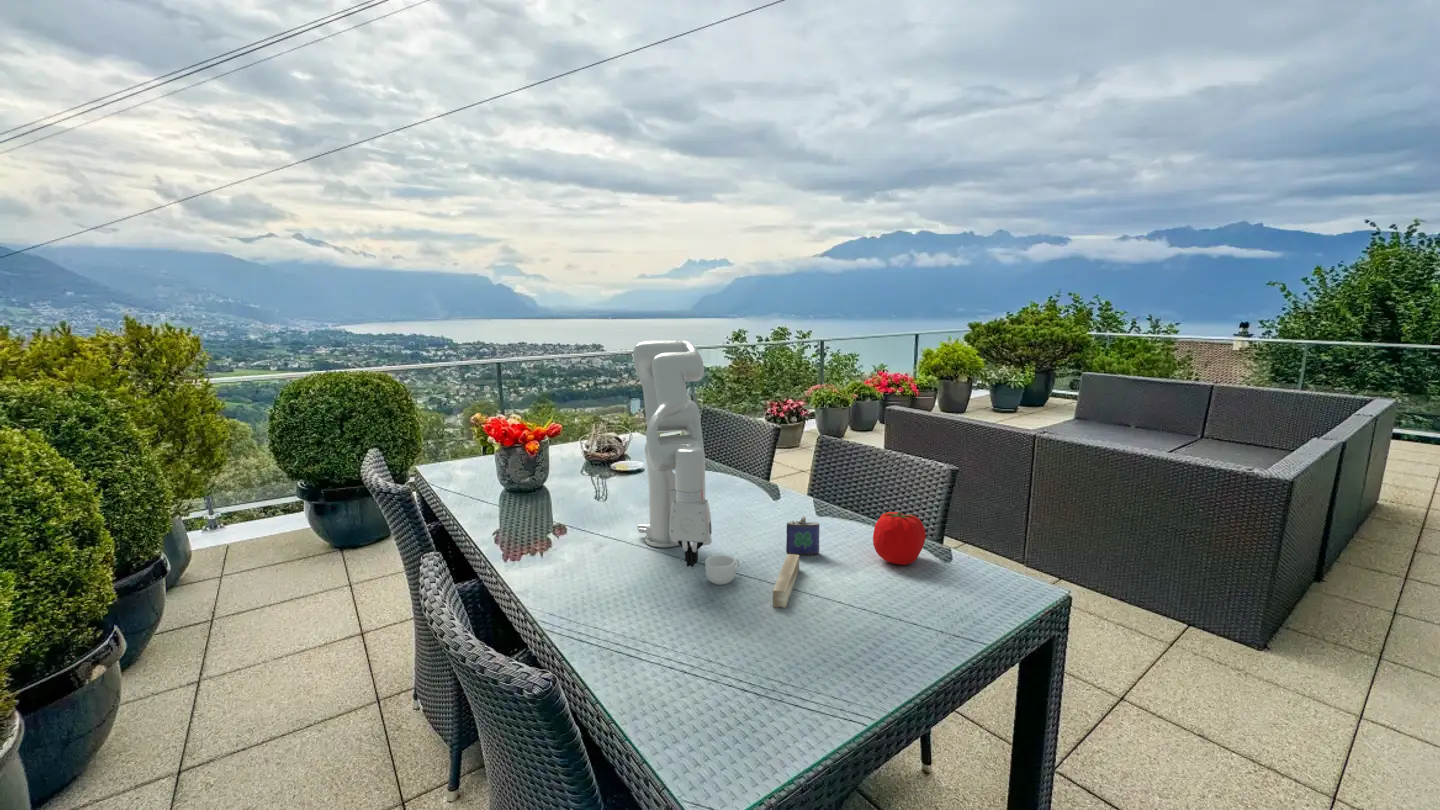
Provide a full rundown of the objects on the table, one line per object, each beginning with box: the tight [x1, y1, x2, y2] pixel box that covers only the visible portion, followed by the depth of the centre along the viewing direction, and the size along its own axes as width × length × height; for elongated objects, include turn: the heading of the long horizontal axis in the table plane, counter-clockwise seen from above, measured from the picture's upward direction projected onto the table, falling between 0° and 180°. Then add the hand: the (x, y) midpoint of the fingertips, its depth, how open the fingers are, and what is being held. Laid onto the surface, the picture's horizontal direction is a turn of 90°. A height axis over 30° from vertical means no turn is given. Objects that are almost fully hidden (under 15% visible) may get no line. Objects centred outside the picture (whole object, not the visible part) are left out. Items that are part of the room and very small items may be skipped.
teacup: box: [704, 554, 741, 586], centre depth 148 cm, size 10×8×5 cm
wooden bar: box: [772, 554, 800, 609], centre depth 143 cm, size 3×22×4 cm, turn 164°
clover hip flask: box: [785, 516, 820, 556], centre depth 164 cm, size 9×3×11 cm, turn 88°
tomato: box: [872, 511, 927, 566], centre depth 158 cm, size 16×14×14 cm
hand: (691, 564), depth 150 cm, fingers closed
